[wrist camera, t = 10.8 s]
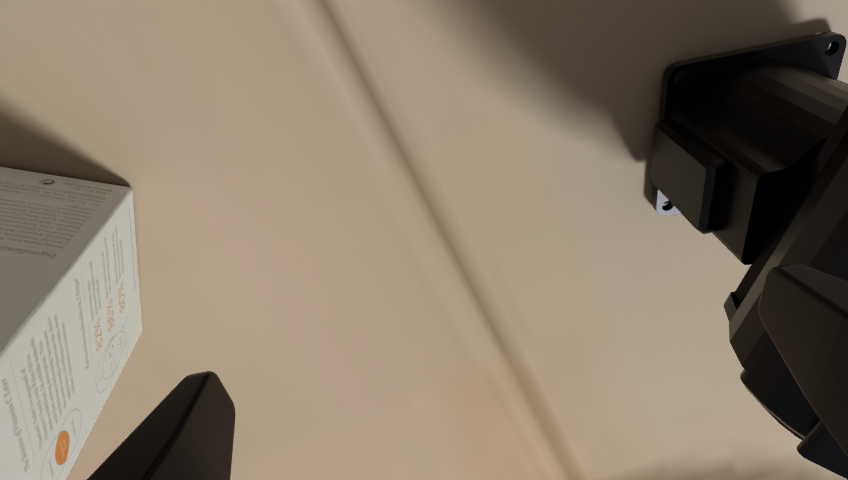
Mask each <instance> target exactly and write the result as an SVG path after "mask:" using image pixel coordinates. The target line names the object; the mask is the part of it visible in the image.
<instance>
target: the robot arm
mask: <svg viewBox="0 0 848 480" xmlns="http://www.w3.org/2000/svg"><path fill="white" fill-rule="evenodd" d="M830 43H831V46H830V48H829V49H828V50H827V51H826V52H825V49H826V47H827V46H828V45H829V44H830ZM845 48H846V39H845V37H844V36H843V35H841V34H838V33H834V32H825V33H820V34H815V35H810V36H805V37H800V38H795V39H790V40H785V41H780V42H775V43H770V44H765V45H760V46H755V47H750V48H745V49H740V50H735V51H730V52H724V53H719V54H714V55H709V56H704V57H699V58H694V59H689V60H684V61H679V62H676V63H673V64H671V65H670V66H669V67H668V68H667V69H666V70H665V72H664V74H663V78H662V90H661V102H660V115H659V120H658V121H657V123H656V124H655V126H654V132H653V145H652V158H651V172H650V181H651V182H652V183H653V184H654V188H653V201H652V205H653V208H654V209H655V210H656V211H657V212H658V213H659V214H660V215H662V216H667V215H673V214H678V213H681V214H682V215H683V216H684V217H685V218H686V219H687V220H688V221H689V222H690V223H691V224H692V225H693V226H694V227H695V228H696V229H697V230H698V231H700V232H701V233H703V234H707V233H713V234H714V235H715V236H716V237H717V238H718V239H719V240H720V241H721V242H722V243H723V244H724V245H725V246H726V247H727V248H728V249H729V250H730V251H731V252H732V253H733V254H734V255H735V256H736V257H737V258H738V259H739V260H740V261H741V262H742V263H743V264H744V265H750V264H752V265H751V266H750V268H749V270H748V271H747V273H746V275H745V276H744V278H743V280H742V281H741V283H740V285H739V286H738V288H737V290H736V291H735V292H731V293H730V295H729V296H728V298H727V300H726V301H725V303H724V308H725V311H726V314H727V317H728V320H729V336H730V343H731V345H732V347H733V349H734V351H735V353H736V355H737V357H738V359H739V361H740V363H741V365H742V366H743V368H744V370H743V372H742V373H741V374H740V378H741V380H742V382H743V384H744V385H745V387H746V389H747V390H748V391H749V392H750V393H751V394H752V395H753V396H754V397H755V398H756V399H757V401H758V402H759V403H760V404H761V405H762V406H763V407H764V408H765V409H766V410H767V411H768V412H769V413H770V414H771V415H772V416H773V417H774V418H775V419H776V420H777V421H778V422H779V423H780V424H781V425H782V426H784V427H785V428H786V429H787V430H789V431H790V432H791V433H793V434H794V435H795V436H796V437H798V438H800V439H801V440H802V441H801V442H800V444H799V445H798V446H797V451H798V452H799V454H800V455H802V456H803V457H804V458H806V459H808V460H810V461H812V462H814V463H816V464H818V465H820V466H822V467H824V468H826V469H828V470H830V471H832V472H834V473H836V474H838V475H840V476H842V477H844V478H846V479H848V84H846V83H844V82H841V81H839V80H837V78H838V74H839V70H840V66H841V63H842V59H843V55H844V52H845ZM679 72H683V75H682V78H681V79H680V80H679V81H677V82H674V78H675V76H676V75H677V74H678V73H679ZM666 201H669V203H668V204H667V205H665V206H663V204H664V203H665V202H666ZM234 426H235V407H234V404H233V401H232V400H231V398H230V396H229V394H228V393H227V391H226V389H225V388H224V386H223V384H222V383H221V381H220V379H219V377H218V376H217V375H216V374H215V373H214V372H212V371H207V372H201V373H196V374H191V375H188V376H186V377H185V378H184V379H183V380H182V381H181V382H180V383H179V384H178V385H177V386H176V387H175V388H174V389H173V390H172V391H171V392H170V393H169V394H168V395H167V397H166V398H165V399H164V400H163V401H162V402H161V403H160V404H159V405H158V406H157V407H156V408H155V409H154V410H153V411H152V412H151V413H150V414H149V415H148V416H147V417H146V418H145V419H144V421H143V422H142V423H141V424H140V425H139V426H138V427H137V428H136V429H135V430H134V431H133V432H132V433H131V434H130V435H129V436H128V437H127V438H126V439H125V440H124V441H123V442H122V443H121V445H120V446H119V447H118V448H117V449H116V450H115V451H114V452H113V453H112V454H111V455H110V456H109V457H108V458H107V459H106V460H105V461H104V462H103V463H102V464H101V465H100V466H99V468H98V469H97V470H96V471H95V472H94V473H93V474H92V475H91V476H90V477H89V478H88V479H87V480H230V475H231V463H232V451H233V438H234Z"/></svg>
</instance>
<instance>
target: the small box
mask: <svg viewBox="0 0 848 480" xmlns="http://www.w3.org/2000/svg"><path fill="white" fill-rule="evenodd" d="M142 330H143V328H142V319H141V305H140V290H139V278H138V263H137V248H136V235H135V222H134V207H133V191H132V188H130V187H125V186H119V185H112V184H106V183H100V182H94V181H88V180H81V179H75V178H69V177H62V176H56V175H49V174H43V173H36V172H30V171H24V170H18V169H11V168H5V167H0V480H66V478H67V476H68V474H69V472H70V470H71V468H72V466H73V464H74V462H75V461H76V459H77V457H78V455H79V453H80V451H81V449H82V447H83V445H84V443H85V441H86V439H87V437H88V435H89V433H90V431H91V429H92V427H93V426H94V424H95V422H96V420H97V418H98V416H99V414H100V412H101V410H102V408H103V406H104V404H105V402H106V400H107V398H108V396H109V394H110V393H111V391H112V389H113V387H114V385H115V383H116V381H117V379H118V377H119V375H120V373H121V371H122V369H123V368H124V366H125V364H126V362H127V360H128V358H129V356H130V354H131V352H132V350H133V348H134V346H135V344H136V342H137V340H138V338H139V336H140V335H141V333H142Z"/></svg>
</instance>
